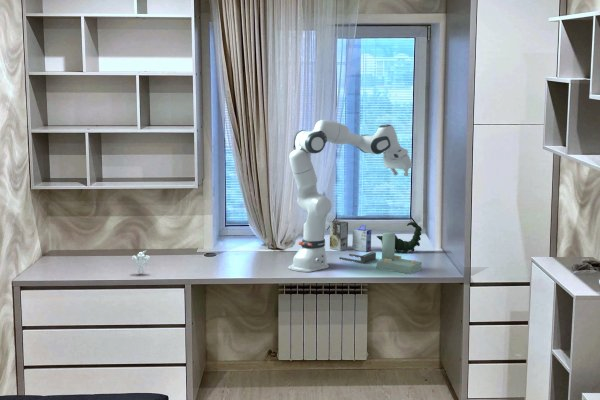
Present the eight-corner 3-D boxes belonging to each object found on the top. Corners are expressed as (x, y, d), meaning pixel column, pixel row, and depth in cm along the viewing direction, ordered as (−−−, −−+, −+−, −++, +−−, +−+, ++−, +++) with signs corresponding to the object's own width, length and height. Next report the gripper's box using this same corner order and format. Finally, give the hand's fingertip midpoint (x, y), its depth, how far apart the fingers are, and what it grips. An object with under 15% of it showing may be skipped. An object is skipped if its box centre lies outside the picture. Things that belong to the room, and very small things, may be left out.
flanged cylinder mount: (410, 274, 393) (411, 239, 390) (376, 268, 404) (377, 234, 401) (421, 269, 403) (422, 235, 400) (387, 263, 414) (388, 230, 411)
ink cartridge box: (371, 250, 445) (372, 225, 442) (366, 252, 440) (366, 227, 438) (357, 247, 451) (357, 223, 448) (351, 249, 446) (352, 225, 444)
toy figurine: (417, 253, 445) (374, 248, 446) (421, 221, 442) (378, 216, 443) (419, 257, 436) (375, 252, 437) (423, 224, 433) (378, 219, 434)
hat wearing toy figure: (150, 272, 393) (150, 249, 391) (149, 274, 389) (148, 251, 387) (132, 272, 392) (132, 249, 390) (131, 274, 389) (130, 251, 387)
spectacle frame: (364, 263, 413) (364, 256, 413) (338, 259, 423) (339, 252, 422) (375, 259, 423) (376, 252, 422) (350, 255, 432) (350, 248, 432)
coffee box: (348, 249, 446) (348, 222, 444) (340, 251, 442) (340, 223, 439) (336, 246, 453) (337, 219, 450) (329, 248, 449) (329, 221, 446)
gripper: (377, 154, 426) (385, 176, 430) (400, 155, 408) (408, 178, 412) (386, 149, 428) (393, 171, 432) (409, 150, 411) (417, 173, 415)
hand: (401, 175), depth 422 cm, fingers open, 8 cm apart
